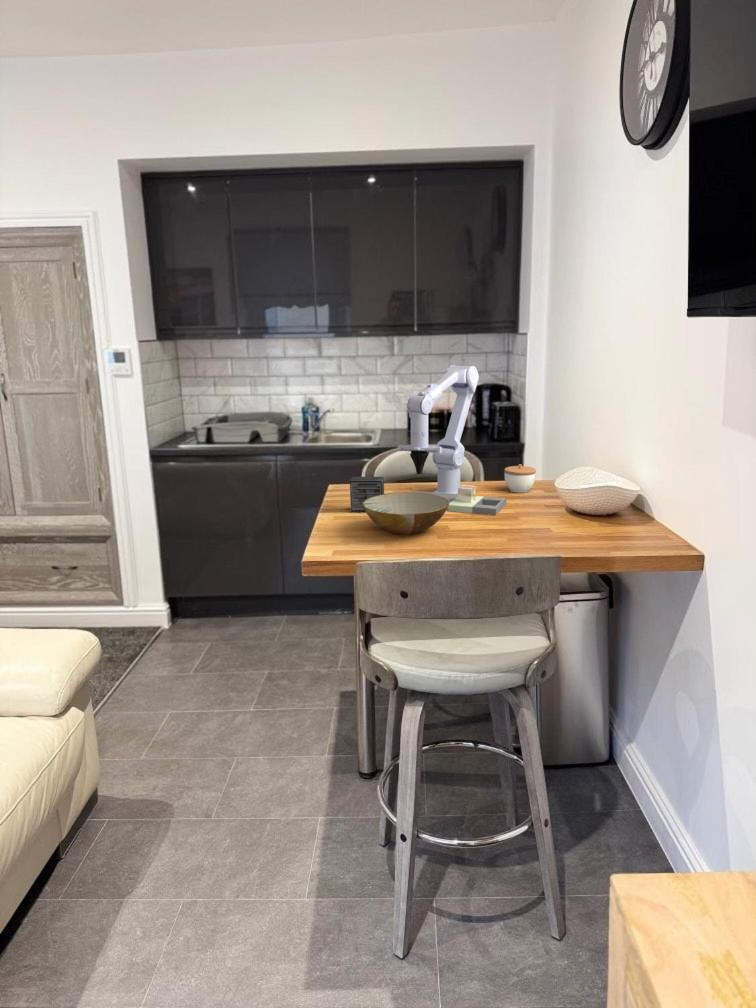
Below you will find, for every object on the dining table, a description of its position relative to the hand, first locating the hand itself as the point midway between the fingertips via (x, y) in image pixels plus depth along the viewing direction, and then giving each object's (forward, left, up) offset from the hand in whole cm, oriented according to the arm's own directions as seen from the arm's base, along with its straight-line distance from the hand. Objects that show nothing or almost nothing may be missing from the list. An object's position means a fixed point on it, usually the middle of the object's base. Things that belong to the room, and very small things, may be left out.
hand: (419, 473), depth 239 cm
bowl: (+32, +7, -10) cm, 34 cm away
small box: (+16, -12, -10) cm, 22 cm away
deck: (+2, +12, -9) cm, 15 cm away
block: (+2, +17, -7) cm, 18 cm away
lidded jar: (-25, +28, -10) cm, 39 cm away
